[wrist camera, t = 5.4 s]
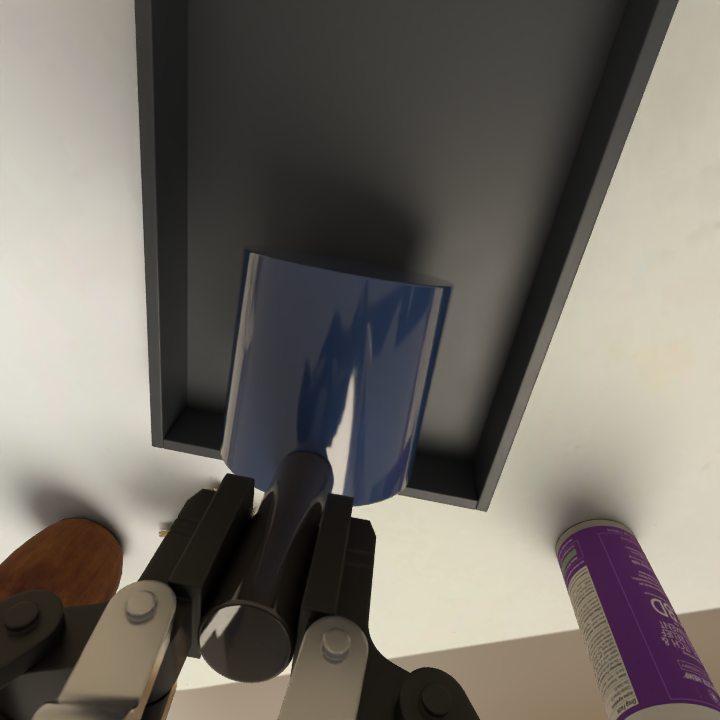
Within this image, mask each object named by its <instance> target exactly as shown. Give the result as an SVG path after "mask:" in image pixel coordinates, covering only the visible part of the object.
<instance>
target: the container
mask: <svg viewBox="0 0 720 720" xmlns="http://www.w3.org/2000/svg"><path fill="white" fill-rule="evenodd" d="M556 555H557V558H558V562H559V565H560V568H561V572H562V575H563V578H564V581H565V584H566V587H567V590H568V594H569V597H570V600H571V603H572V606H573V609H574V612H575V616H576V619H577V622H578V625H579V628H580V631H581V634H582V637H583V640H584V644H585V647H586V650H587V653H588V656H589V659H590V662H591V666H592V669H593V672H594V675H595V678H596V681H597V685H598V687H599V691H600V694H601V697H602V700H603V703H604V707H605V710H606V713H607V716H608V719H609V720H720V697H719V695H718V693H717V691H716V689H715V688H714V686H713V684H712V682H711V680H710V678H709V676H708V674H707V672H706V670H705V668H704V667H703V665H702V663H701V661H700V659H699V657H698V655H697V653H696V651H695V649H694V647H693V646H692V644H691V642H690V640H689V638H688V636H687V634H686V632H685V631H684V628H683V627H682V625H681V623H680V621H679V619H678V617H677V615H676V613H675V611H674V609H673V607H672V605H671V604H670V602H669V600H668V598H667V596H666V594H665V592H664V590H663V588H662V586H661V584H660V583H659V581H658V579H657V577H656V575H655V573H654V571H653V569H652V567H651V565H650V563H649V562H648V560H647V558H646V556H645V554H644V552H643V550H642V548H641V546H640V544H639V543H638V541H637V539H636V537H635V535H634V534H633V532H632V531H631V530H630V529H629V528H627V527H626V526H624V525H622V524H620V523H618V522H615V521H610V520H590V521H585V522H582V523H579V524H577V525H575V526H573V527H571V528H570V529H568V530H567V531H566V532H565V533H563V535H562V536H561V537H560V538H559V540H558V542H557V545H556Z"/></svg>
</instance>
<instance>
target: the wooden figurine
mask: <svg viewBox="0 0 720 720" xmlns="http://www.w3.org/2000/svg"><path fill="white" fill-rule="evenodd" d="M122 566H123V552H122V550H121V548H120V546H119V544H118V542H117V540H116V539H115V537H114V536H113V535H112V534H111V533H110V532H109V531H108V530H106V529H105V528H104V527H102V526H101V525H99V524H97V523H95V522H93V521H91V520H87V519H82V518H73V519H63V520H61V521H59V522H57V523H55V524H52V525H51V526H49V527H47V528H46V529H44V530H42V531H41V532H39V533H38V534H36V535H35V536H33V537H32V538H31V539H29V540H28V541H26V542H25V543H24V544H23V545H21V546H20V547H19V548H18V549H16V550H15V551H14V552H13V553H12V554H11V555H10V556H9V557H8V558H7V559H6V560H5V561H3V562H2V563H1V564H0V602H2V601H4V600H5V599H7V598H9V597H11V596H13V595H15V594H18V593H21V592H24V591H29V590H47V591H51V592H53V593H55V594H56V595H57V596H59V598H60V599H61V600H62V603H63V607H71V606H80V605H90V604H97V603H103V602H106V601H109V600H111V598H112V597H113V596H114V595H115V594H116V591H117V589H118V587H119V583H120V579H121V575H122Z"/></svg>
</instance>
